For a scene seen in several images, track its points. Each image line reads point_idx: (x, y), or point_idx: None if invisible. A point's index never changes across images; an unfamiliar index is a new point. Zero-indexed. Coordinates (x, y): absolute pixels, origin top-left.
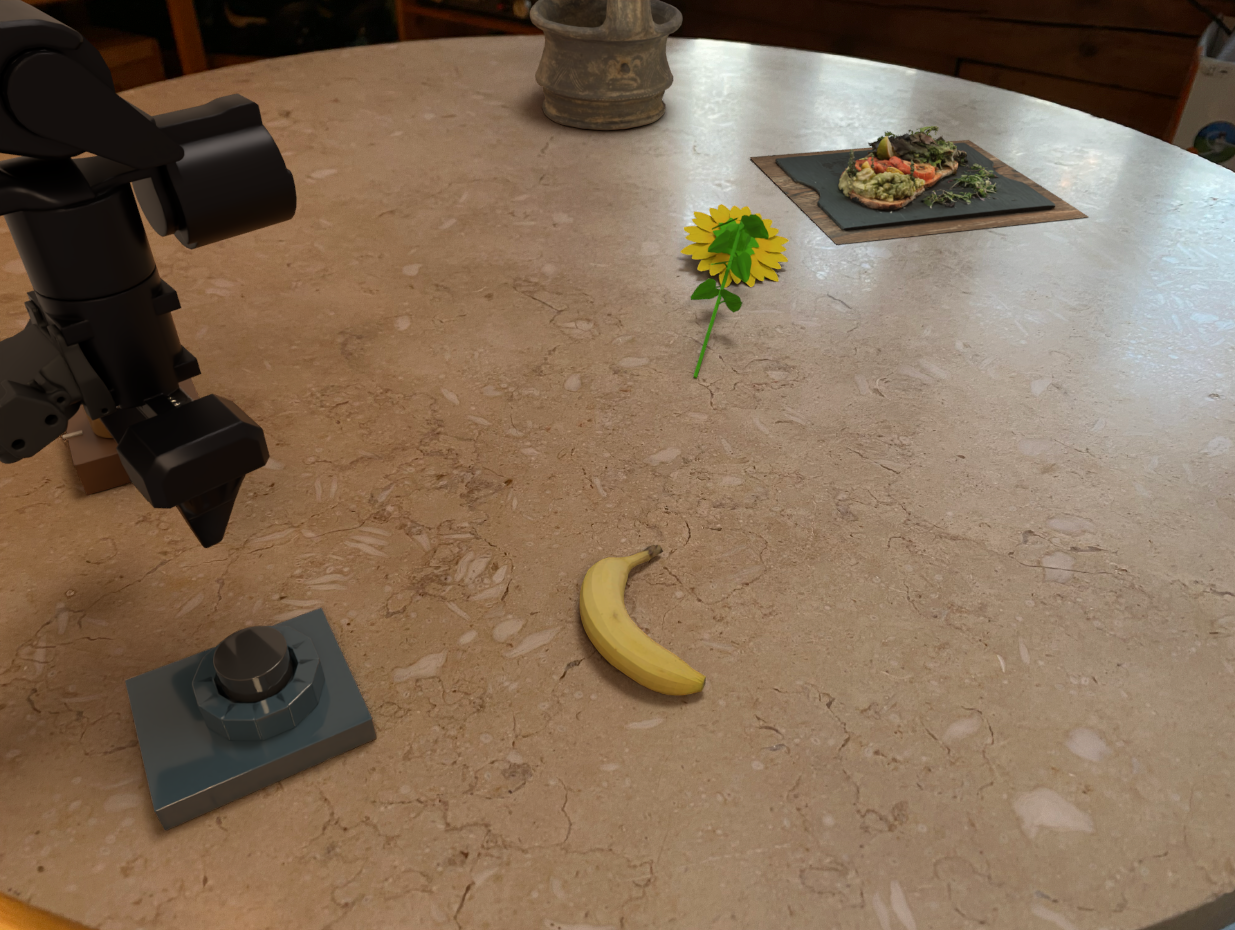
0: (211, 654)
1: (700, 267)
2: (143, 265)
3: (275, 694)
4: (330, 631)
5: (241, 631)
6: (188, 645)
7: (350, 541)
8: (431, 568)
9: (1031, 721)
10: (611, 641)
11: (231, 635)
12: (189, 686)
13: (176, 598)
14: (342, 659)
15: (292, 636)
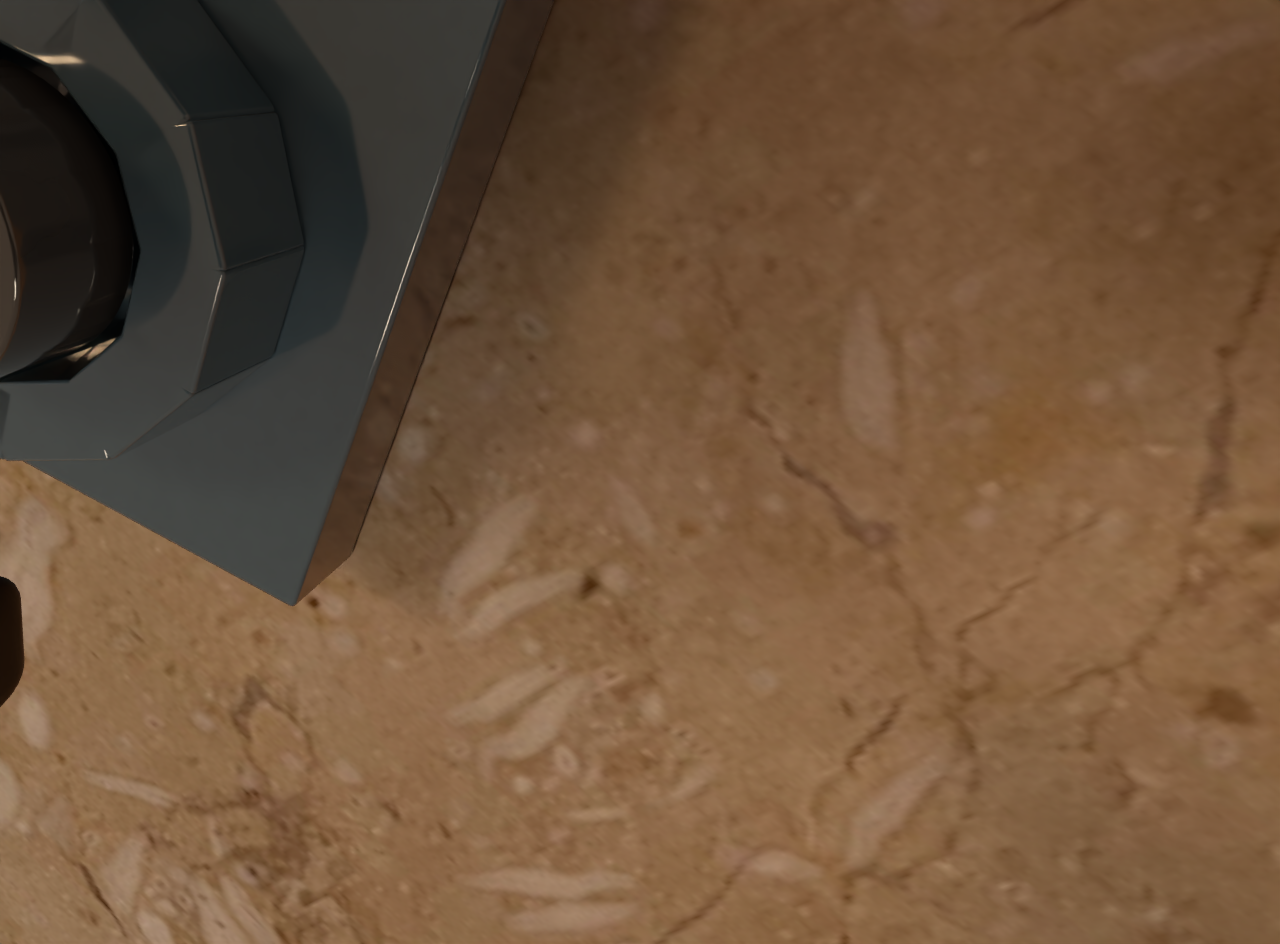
0: (177, 159)
1: None
2: None
3: None
4: (175, 537)
5: (2, 302)
6: (681, 217)
7: (619, 889)
8: (317, 889)
9: None
10: None
11: (2, 256)
12: (305, 24)
13: (960, 368)
14: (38, 463)
15: (49, 428)
